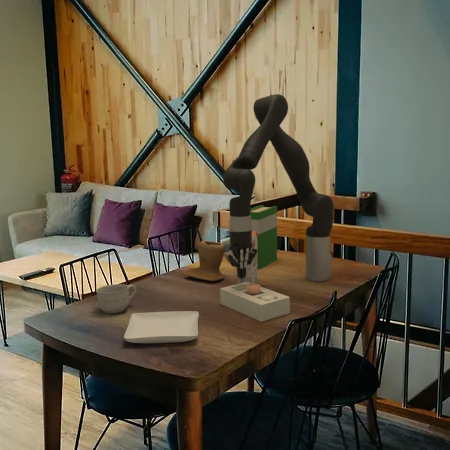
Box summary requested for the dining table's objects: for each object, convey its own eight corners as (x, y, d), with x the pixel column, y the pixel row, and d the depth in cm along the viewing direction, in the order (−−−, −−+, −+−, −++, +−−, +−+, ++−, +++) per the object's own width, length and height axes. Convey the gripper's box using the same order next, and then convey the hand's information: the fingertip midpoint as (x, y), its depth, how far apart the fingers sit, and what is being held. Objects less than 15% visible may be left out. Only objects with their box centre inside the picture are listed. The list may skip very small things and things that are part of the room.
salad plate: (132, 322, 183) (131, 311, 182) (198, 320, 184) (198, 309, 183) (123, 349, 162) (122, 337, 161) (198, 346, 163) (198, 335, 162)
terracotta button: (254, 290, 194) (254, 282, 193) (263, 293, 190) (263, 285, 190) (244, 292, 191) (244, 285, 191) (252, 296, 188) (252, 288, 187)
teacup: (102, 318, 185) (100, 294, 184) (93, 308, 195) (92, 286, 193) (143, 310, 192) (142, 287, 190) (133, 301, 201) (131, 279, 200)
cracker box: (253, 296, 204) (252, 238, 200) (236, 295, 206) (235, 238, 202) (258, 284, 218) (258, 230, 214) (243, 283, 219) (242, 230, 215)
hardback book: (261, 258, 257) (261, 205, 252) (277, 259, 253) (276, 206, 248) (243, 267, 242) (242, 211, 237) (259, 269, 238) (258, 212, 233)
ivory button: (268, 300, 189) (268, 293, 188) (277, 304, 185) (277, 296, 185) (258, 303, 186) (258, 295, 186) (266, 307, 183) (266, 299, 182)
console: (247, 296, 204) (247, 281, 203) (289, 313, 187) (289, 297, 186) (220, 303, 197) (219, 288, 196) (261, 321, 180) (261, 305, 179)
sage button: (242, 290, 200) (242, 283, 199) (250, 293, 196) (249, 286, 196) (232, 293, 197) (231, 285, 197) (239, 296, 194) (239, 288, 193)
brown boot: (231, 277, 227) (230, 240, 224) (212, 285, 218) (211, 246, 215) (202, 271, 237) (201, 236, 234) (182, 278, 228) (181, 241, 225)
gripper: (248, 223, 199) (249, 272, 202) (218, 229, 191) (219, 279, 195) (262, 227, 193) (263, 276, 197) (231, 233, 185) (233, 284, 189)
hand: (241, 278), depth 196 cm, fingers closed
